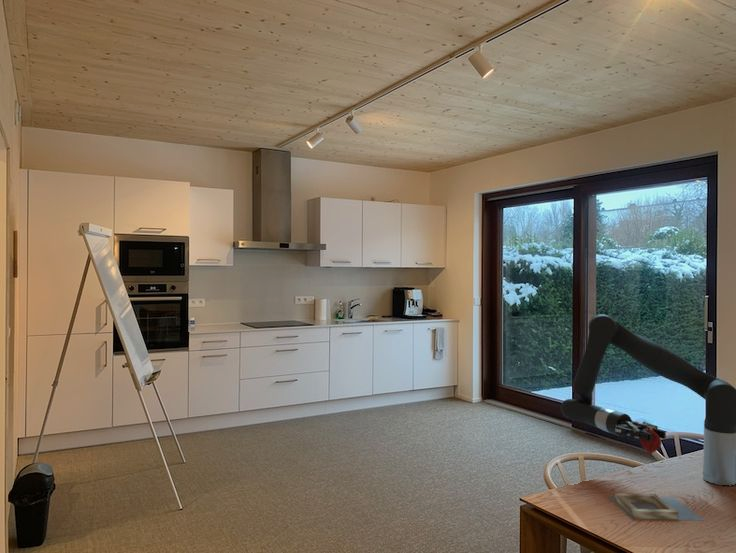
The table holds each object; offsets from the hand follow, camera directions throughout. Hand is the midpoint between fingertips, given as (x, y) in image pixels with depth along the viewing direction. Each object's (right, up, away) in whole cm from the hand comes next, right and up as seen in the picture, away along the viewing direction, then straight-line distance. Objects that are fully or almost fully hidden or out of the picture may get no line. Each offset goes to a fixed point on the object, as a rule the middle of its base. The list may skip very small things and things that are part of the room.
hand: (658, 436), depth 167 cm
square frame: (-10, -17, -12) cm, 23 cm away
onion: (-1, -6, +2) cm, 7 cm away
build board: (-7, -19, -11) cm, 23 cm away
